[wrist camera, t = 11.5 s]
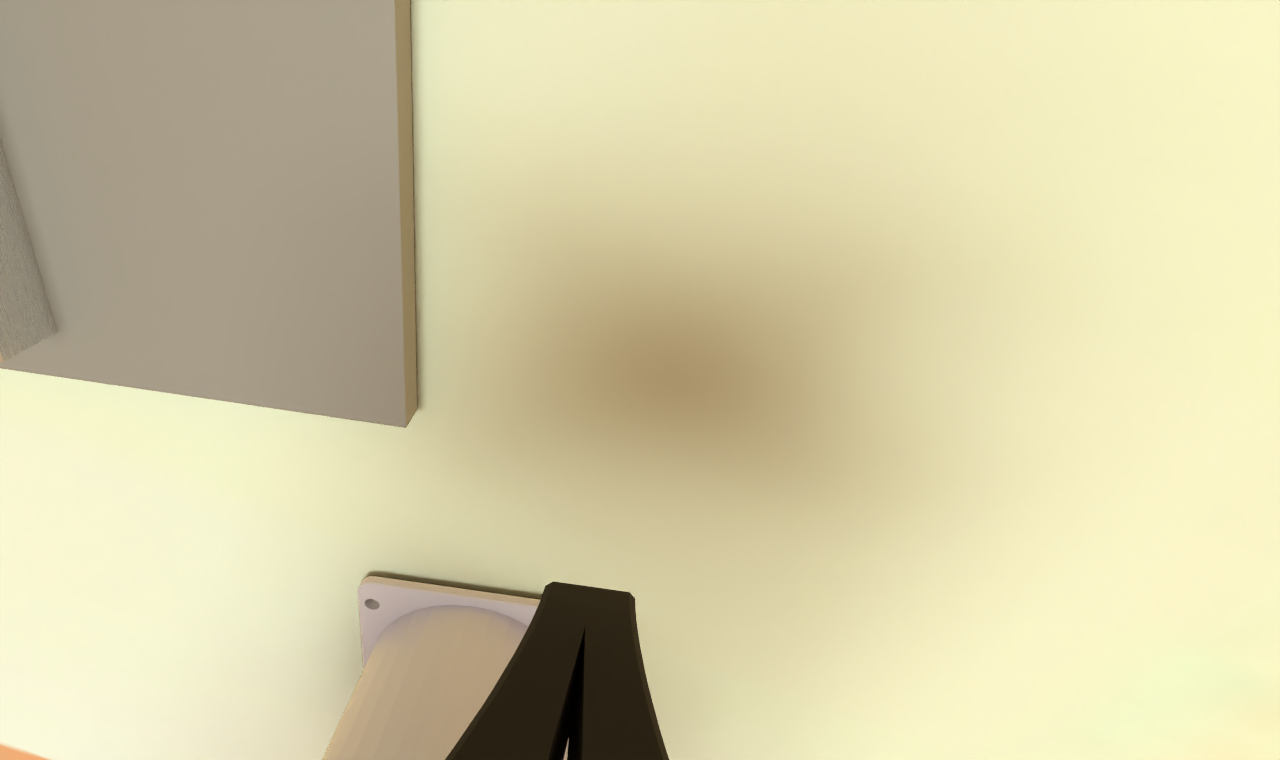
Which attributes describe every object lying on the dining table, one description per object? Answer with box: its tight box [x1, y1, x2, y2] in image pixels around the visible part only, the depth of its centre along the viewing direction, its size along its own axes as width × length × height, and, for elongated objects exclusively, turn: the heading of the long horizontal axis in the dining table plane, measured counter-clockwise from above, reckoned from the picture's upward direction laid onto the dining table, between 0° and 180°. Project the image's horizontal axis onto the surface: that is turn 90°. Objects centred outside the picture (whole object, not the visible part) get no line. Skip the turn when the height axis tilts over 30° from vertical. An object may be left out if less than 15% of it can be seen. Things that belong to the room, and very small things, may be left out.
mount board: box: [0, 0, 417, 428], centre depth 17 cm, size 14×18×1 cm
